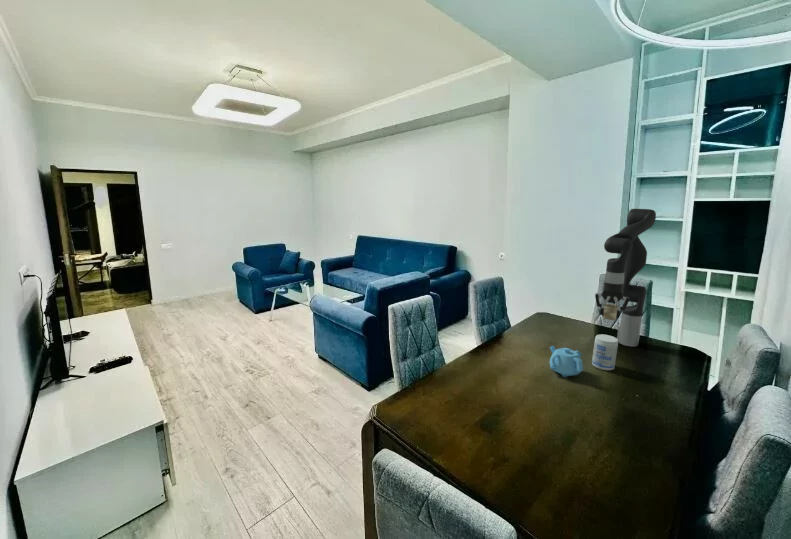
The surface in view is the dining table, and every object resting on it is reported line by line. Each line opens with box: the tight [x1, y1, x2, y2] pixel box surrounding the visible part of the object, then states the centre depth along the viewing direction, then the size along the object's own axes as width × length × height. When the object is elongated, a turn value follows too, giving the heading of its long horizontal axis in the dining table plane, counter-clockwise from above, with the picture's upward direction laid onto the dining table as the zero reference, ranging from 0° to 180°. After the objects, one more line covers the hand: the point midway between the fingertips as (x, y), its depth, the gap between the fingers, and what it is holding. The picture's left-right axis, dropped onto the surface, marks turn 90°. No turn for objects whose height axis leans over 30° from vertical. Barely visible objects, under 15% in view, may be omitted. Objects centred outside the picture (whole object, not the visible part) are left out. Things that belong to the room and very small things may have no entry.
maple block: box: [602, 303, 617, 321], centre depth 161 cm, size 5×5×6 cm
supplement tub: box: [591, 333, 619, 371], centre depth 165 cm, size 10×10×15 cm
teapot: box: [549, 345, 584, 378], centre depth 161 cm, size 20×17×12 cm
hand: (609, 316), depth 161 cm, fingers closed on maple block, 5 cm apart
